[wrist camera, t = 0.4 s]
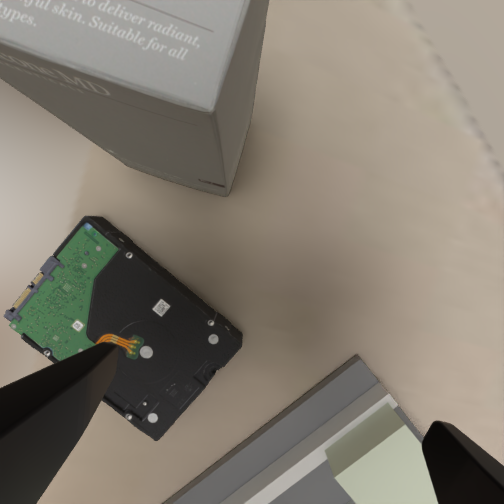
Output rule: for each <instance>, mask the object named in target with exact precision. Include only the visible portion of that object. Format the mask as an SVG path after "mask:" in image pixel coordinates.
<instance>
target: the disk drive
mask: <svg viewBox="0 0 504 504" xmlns="http://www.w3.org/2000/svg"><path fill="white" fill-rule="evenodd" d="M53 255H54V256H50V257H49V258H48V260H47V261H46V262H45V263H44V265H43V266H42V267H41V268H40V270H41V271H42V272H40V273H38V275H37V276H36V277H35V278H34V280H33V281H32V282H31V284H32V285H31V286H30V285H28V286H27V288H26V290H25V291H24V292H23V293H22V294H21V296H20V297H19V298H18V299H17V300H16V302H15V303H14V304H13V307H12V308H11V309H10V310H6V313H5V315H4V317H5V318H6V319H8V320H9V321H11V323H10V325H9V326H10V327H11V328H12V329H13V330H15V331H16V332H18V333H19V334H20V335H21V338H22V339H23V340H24V341H25V342H26V343H28V344H29V345H31V347H33V348H35V349H36V350H38V351H39V352H40V353H42V354H43V355H45V356H46V357H48V359H49V360H51V361H52V362H53V363H57V362H59V361H61V360H63V359H65V358H68V357H70V356H72V355H74V354H76V353H79V352H81V351H83V350H85V349H87V348H90V347H92V346H94V345H96V344H98V343H101V342H109V343H113V344H117V345H118V347H119V352H118V360H117V368H116V373H115V375H114V378H113V380H112V381H111V383H110V385H109V387H108V389H107V391H106V393H105V394H104V396H103V398H102V401H103V402H105V403H106V404H107V405H109V406H110V407H112V408H113V409H114V410H115V411H117V412H118V413H119V414H120V415H122V416H123V417H124V418H126V419H127V420H128V421H129V422H130V423H131V424H133V425H134V426H135V427H137V428H138V429H139V430H140V431H142V432H144V433H145V434H146V435H148V436H150V437H151V438H152V439H154V440H155V441H158V440H159V439H160V438H161V437H162V436H163V435H164V434H165V432H166V431H167V430H168V429H169V428H170V427H171V426H172V425H173V424H174V422H175V421H176V420H177V419H178V417H179V416H180V415H181V414H182V413H183V412H184V411H185V410H186V409H187V408H188V406H189V405H190V404H191V403H192V402H193V401H194V400H195V399H196V397H197V396H198V395H199V394H200V393H201V392H202V391H203V390H204V389H205V388H206V386H207V385H208V383H209V381H210V380H211V379H212V377H213V376H214V375H215V373H216V370H219V369H220V368H222V367H224V366H225V365H226V364H227V363H228V362H229V360H230V359H231V358H232V357H233V356H234V355H235V354H236V353H237V352H238V350H239V349H240V348H241V347H242V336H243V334H242V332H240V331H238V329H236V328H235V327H234V326H233V325H231V323H230V322H229V321H228V320H227V319H226V318H224V317H223V316H222V315H221V314H219V313H218V312H216V311H215V310H214V309H212V308H211V307H210V306H209V305H207V304H206V303H205V302H204V301H202V299H200V298H199V297H198V296H197V295H195V294H194V293H193V292H192V291H190V290H189V289H188V288H187V287H186V286H184V285H183V284H182V283H181V282H180V281H179V280H178V279H176V278H175V277H174V276H172V275H171V274H170V273H169V272H168V271H167V270H166V269H164V268H163V267H161V266H160V265H159V264H158V263H157V262H156V261H154V260H153V259H152V258H151V257H150V256H148V255H147V254H146V253H145V252H144V251H143V250H141V249H140V248H139V247H138V246H136V245H135V244H134V243H133V241H132V240H130V238H128V237H127V236H126V235H124V234H123V233H122V232H120V231H119V230H118V229H116V228H115V227H114V226H113V225H112V224H110V223H109V222H108V221H107V220H106V219H104V218H103V217H99V216H84V217H83V218H82V219H81V221H80V222H79V223H78V224H77V226H76V227H75V228H74V229H73V230H72V232H71V233H70V234H69V235H68V236H67V238H66V239H65V240H64V241H63V243H62V244H61V245H60V246H59V247H58V249H57V250H56V251H55V252H54V254H53Z"/></svg>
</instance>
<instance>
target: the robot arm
mask: <svg viewBox="0 0 504 504" xmlns="http://www.w3.org/2000/svg"><path fill="white" fill-rule="evenodd" d="M118 352H119V347H118V345H117V344H113V343H109V342H101V343H98V344H96V345H94V346H92V347H90V348H87V349H85V350H83V351H81V352H79V353H76V354H74V355H72V356H70V357H68V358H65V359H63V360H61V361H59V362H57V363H54V364H52V365H50V366H48V367H46V368H43V369H41V370H39V371H37V372H34V373H32V374H30V375H28V376H26V377H23V378H21V379H19V380H17V381H15V382H12V383H10V384H8V385H6V386H4V387H1V388H0V504H36V503H37V502H38V500H39V499H40V497H41V496H42V494H43V493H44V492H45V490H46V489H47V487H48V486H49V484H50V483H51V481H52V480H53V478H54V477H55V475H56V474H57V472H58V471H59V469H60V468H61V466H62V465H63V463H64V462H65V460H66V459H67V457H68V456H69V454H70V453H71V451H72V450H73V448H74V447H75V445H76V444H77V442H78V441H79V439H80V438H81V436H82V435H83V433H84V431H85V429H86V428H87V426H88V424H89V422H90V420H91V418H92V417H93V415H94V413H95V411H96V409H97V407H98V405H99V404H100V402H101V400H102V398H103V396H104V394H105V393H106V391H107V389H108V387H109V385H110V383H111V381H112V380H113V378H114V375H115V373H116V368H117V360H118ZM422 452H423V455H424V459H425V462H426V465H427V469H428V472H429V475H430V478H431V482H432V485H433V488H434V492H435V495H436V498H437V502H438V504H504V466H503V465H502V464H501V463H499V462H498V461H497V460H496V459H494V458H493V457H492V456H491V455H490V454H488V453H487V452H486V451H485V450H483V449H482V448H481V447H480V446H478V445H477V444H476V443H475V442H473V441H472V440H471V439H470V438H469V437H467V436H466V435H465V434H464V433H462V432H461V431H460V430H459V429H457V428H456V427H455V426H454V425H452V424H450V423H447V422H443V421H434V422H433V423H432V424H431V426H430V428H429V430H428V431H427V433H426V435H425V437H424V438H423V440H422Z"/></svg>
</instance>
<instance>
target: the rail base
mask: <svg viewBox="0 0 504 504" xmlns="http://www.w3.org/2000/svg"><path fill="white" fill-rule="evenodd" d="M422 440H423V436H422V435H421V434H420V433H419V431H418V430H417V429H416V428H415V426H414V425H413V424H412V423H411V421H410V420H409V419H408V417H407V416H406V415H405V414H404V412H403V411H402V410H401V409H400V407H399V406H398V404H397V403H396V402H395V400H394V399H393V398H392V396H391V395H390V394H389V393H388V392H387V390H386V389H385V388H384V387H383V386H382V385H381V383H380V382H379V381H378V380H377V379H376V377H375V376H374V375H373V374H372V372H371V371H370V370H369V369H368V367H367V366H366V365H365V364H364V362H363V361H362V360H361V359H360V357H359V356H358V355H355V356H354V357H353V358H351V359H350V360H349V361H348V362H346V363H345V364H344V365H342V366H341V367H340V368H338V369H337V370H336V371H335V372H333V373H332V374H331V375H329V376H328V377H327V378H325V379H324V380H323V381H322V382H320V383H319V384H318V385H316V386H315V387H314V388H312V389H311V390H310V391H309V392H307V393H306V394H305V395H303V396H302V397H301V398H299V399H298V400H297V401H296V402H294V403H293V404H292V405H290V406H289V407H288V408H286V409H285V410H284V411H283V412H281V413H280V414H279V415H277V416H276V417H275V418H273V419H272V420H271V421H270V422H268V423H267V424H266V425H264V426H263V427H262V428H260V429H259V430H258V431H257V432H255V433H254V434H253V435H251V436H250V437H249V438H247V439H246V440H245V441H244V442H242V443H241V444H240V445H238V446H237V447H236V448H234V449H233V450H232V451H231V452H229V453H228V454H227V455H225V456H224V457H223V458H221V459H220V460H219V461H217V462H216V463H215V464H214V465H212V466H211V467H210V468H208V469H207V470H206V471H204V472H203V473H202V474H201V475H199V476H198V477H197V478H195V479H194V480H193V481H191V482H190V483H189V484H188V485H186V486H185V487H184V488H182V489H181V490H180V491H178V492H177V493H176V494H175V495H173V496H172V497H171V498H169V499H168V500H167V501H165V502H164V503H163V504H438V502H437V498H436V495H435V492H434V488H433V485H432V482H431V478H430V475H429V472H428V469H427V465H426V462H425V459H424V455H423V452H422Z"/></svg>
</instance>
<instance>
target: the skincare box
mask: <svg viewBox="0 0 504 504" xmlns="http://www.w3.org/2000/svg"><path fill="white" fill-rule="evenodd" d="M268 5H269V0H0V78H1V79H2V80H4V81H5V82H6V83H8V84H9V85H11V86H12V87H14V88H15V89H17V90H18V91H19V92H21V93H22V94H24V95H25V96H27V97H29V98H30V99H31V100H33V101H34V102H35V103H37V104H39V105H40V106H41V107H43V108H44V109H46V110H47V111H49V112H50V113H52V114H53V115H54V116H56V117H57V118H59V119H60V120H62V121H63V122H64V123H66V124H68V125H69V126H70V127H72V128H73V129H75V130H76V131H78V132H79V133H80V134H82V135H83V136H85V137H86V138H88V139H89V140H90V141H92V142H93V143H95V144H96V145H98V146H99V147H101V148H102V149H103V150H105V151H106V152H108V153H109V154H111V155H112V156H114V157H115V158H117V159H118V160H119V161H121V162H122V163H124V164H125V165H126V166H128V167H131V168H134V169H136V170H139V171H142V172H145V173H148V174H151V175H154V176H157V177H160V178H163V179H166V180H169V181H172V182H175V183H178V184H181V185H184V186H187V187H191V188H194V189H198V190H201V191H205V192H209V193H212V194H216V195H220V196H224V197H226V196H228V195H229V192H230V190H231V187H232V183H233V180H234V177H235V174H236V170H237V167H238V164H239V160H240V157H241V154H242V150H243V147H244V143H245V140H246V136H247V132H248V129H249V125H250V122H251V117H252V111H253V105H254V98H255V91H256V84H257V78H258V71H259V64H260V58H261V51H262V45H263V39H264V32H265V26H266V16H267V10H268Z"/></svg>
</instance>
